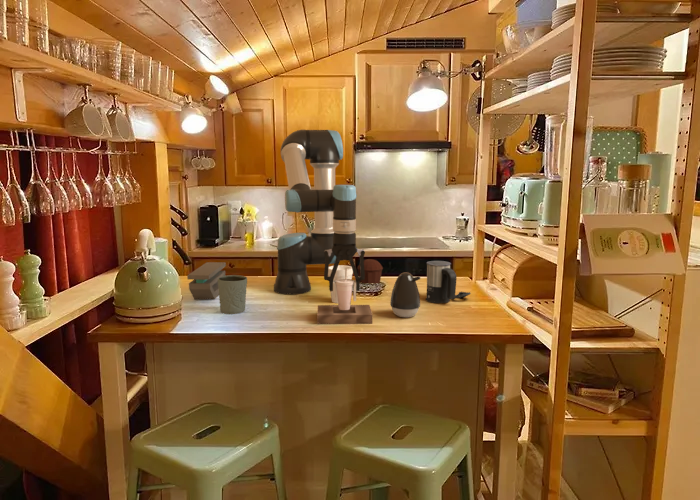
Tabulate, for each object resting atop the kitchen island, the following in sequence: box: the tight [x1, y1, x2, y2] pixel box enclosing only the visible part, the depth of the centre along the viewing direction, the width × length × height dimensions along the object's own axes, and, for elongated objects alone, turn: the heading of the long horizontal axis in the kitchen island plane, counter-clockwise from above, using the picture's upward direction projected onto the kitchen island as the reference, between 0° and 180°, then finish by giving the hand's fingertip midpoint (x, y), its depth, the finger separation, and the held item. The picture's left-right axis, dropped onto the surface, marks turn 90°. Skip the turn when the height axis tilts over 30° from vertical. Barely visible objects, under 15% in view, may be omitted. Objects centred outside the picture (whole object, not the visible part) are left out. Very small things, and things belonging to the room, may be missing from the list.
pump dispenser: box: [390, 271, 421, 318], centre depth 178 cm, size 10×10×15 cm
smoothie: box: [335, 268, 355, 310], centre depth 173 cm, size 6×6×14 cm
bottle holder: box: [316, 304, 373, 325], centre depth 175 cm, size 18×12×3 cm, turn 93°
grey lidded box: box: [187, 261, 227, 300], centre depth 204 cm, size 25×8×11 cm, turn 179°
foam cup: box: [328, 264, 354, 304], centre depth 196 cm, size 10×9×13 cm
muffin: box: [356, 258, 384, 284], centre depth 227 cm, size 12×11×10 cm
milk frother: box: [425, 260, 471, 304], centre depth 198 cm, size 14×16×15 cm
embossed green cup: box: [218, 274, 248, 315], centre depth 183 cm, size 10×10×12 cm
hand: (344, 300), depth 174 cm, fingers closed on smoothie, 6 cm apart
